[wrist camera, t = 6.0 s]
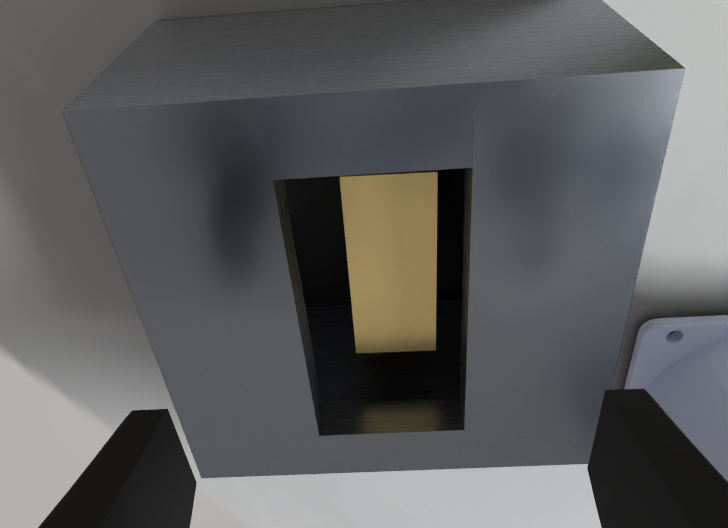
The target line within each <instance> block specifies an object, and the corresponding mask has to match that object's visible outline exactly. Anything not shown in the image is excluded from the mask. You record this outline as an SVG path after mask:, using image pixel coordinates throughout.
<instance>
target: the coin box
mask: <svg viewBox="0 0 728 528" xmlns="http://www.w3.org/2000/svg"><path fill="white" fill-rule="evenodd" d="M684 71H685V68H684V67H683V66H682V65H681V64H679V63H678V62H677V61H676V60H674V59H673V58H672V57H671V56H670V55H668V54H667V53H666V52H665V51H663V50H662V49H661V48H660V47H658V46H657V45H656V44H655V43H654V42H652V41H651V40H650V39H649V38H647V37H646V36H645V35H644V34H642V33H641V32H640V31H639V30H638V29H636V28H635V27H634V26H633V25H631V24H630V23H629V22H628V21H626V20H625V19H624V18H623V17H622V16H620V15H619V14H618V13H617V12H615V11H614V10H613V9H612V8H610V7H609V6H608V5H607V4H606V3H604V2H603V1H602V0H420V1H407V2H394V3H381V4H368V5H355V6H342V7H329V8H316V9H303V10H290V11H277V12H264V13H251V14H237V15H224V16H211V17H198V18H185V19H172V20H159V21H155V22H154V23H153V24H152V25H151V26H150V27H149V28H148V29H147V30H146V31H145V32H144V33H143V34H142V35H141V36H140V37H139V38H138V39H137V40H136V41H135V42H134V43H133V44H132V45H131V46H130V47H128V48H127V49H126V50H125V51H124V52H123V53H122V54H121V55H120V56H119V57H118V58H117V59H116V60H115V61H114V62H113V63H112V64H111V65H110V66H109V67H108V68H107V69H106V70H105V71H104V72H103V73H101V74H100V75H99V76H98V77H97V78H96V79H95V80H94V81H93V82H92V83H91V84H90V85H89V86H88V87H87V88H86V89H85V90H84V91H83V92H82V93H81V94H80V95H79V96H78V97H77V98H76V99H75V100H73V101H72V102H71V103H70V104H69V105H68V106H67V107H66V108H65V109H64V110H63V111H62V113H63V115H64V118H65V121H66V123H67V126H68V128H69V131H70V134H71V136H72V139H73V142H74V144H75V147H76V149H77V152H78V155H79V157H80V160H81V163H82V165H83V168H84V170H85V173H86V176H87V178H88V181H89V184H90V186H91V189H92V191H93V194H94V197H95V199H96V202H97V205H98V207H99V210H100V213H101V215H102V218H103V220H104V223H105V226H106V228H107V231H108V234H109V236H110V239H111V241H112V244H113V247H114V249H115V252H116V255H117V257H118V260H119V262H120V265H121V268H122V270H123V273H124V276H125V278H126V281H127V283H128V286H129V289H130V291H131V294H132V297H133V299H134V302H135V305H136V307H137V310H138V312H139V315H140V318H141V320H142V323H143V326H144V328H145V331H146V333H147V336H148V339H149V341H150V344H151V347H152V349H153V352H154V354H155V357H156V360H157V362H158V365H159V368H160V370H161V373H162V375H163V378H164V381H165V383H166V386H167V389H168V391H169V394H170V397H171V399H172V402H173V404H174V407H175V410H176V412H177V415H178V418H179V420H180V423H181V425H182V428H183V431H184V433H185V436H186V439H187V441H188V444H189V446H190V449H191V452H192V454H193V457H194V460H195V462H196V465H197V467H198V470H199V473H200V475H201V478H217V477H244V476H271V475H298V474H325V473H352V472H378V471H405V470H432V469H459V468H486V467H513V466H540V465H567V464H589V460H590V455H591V451H592V446H593V442H594V437H595V433H596V429H597V424H598V420H599V415H600V411H601V406H602V402H603V397H604V393H605V390H611V385H612V381H613V377H614V373H615V368H616V364H617V360H618V355H619V351H620V347H621V342H622V338H623V334H624V330H625V325H626V321H627V317H628V312H629V308H630V304H631V299H632V295H633V291H634V287H635V282H636V278H637V274H638V269H639V265H640V261H641V256H642V252H643V248H644V243H645V239H646V235H647V231H648V226H649V222H650V218H651V213H652V209H653V205H654V200H655V196H656V192H657V188H658V183H659V179H660V175H661V170H662V166H663V162H664V157H665V153H666V149H667V145H668V140H669V136H670V132H671V127H672V123H673V119H674V114H675V110H676V106H677V102H678V97H679V93H680V89H681V84H682V80H683V76H684ZM459 168H465V190H464V233H463V275H462V299H452V300H436V350H432V351H405V352H379V353H356V346H355V335H354V325H353V314H352V305H335V306H316V307H305V302H304V296H303V290H302V285H301V279H300V273H299V267H298V261H297V255H296V249H295V244H294V238H293V232H292V226H291V220H290V214H289V208H288V203H287V197H286V191H285V185H284V179H299V178H315V177H331V176H347V175H363V174H379V173H395V172H411V171H427V170H443V169H459Z"/></svg>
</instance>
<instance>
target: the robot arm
mask: <svg viewBox="0 0 728 528" xmlns="http://www.w3.org/2000/svg"><path fill="white" fill-rule="evenodd" d="M676 330H677V331H676ZM672 331H676V332H674V333H672V334H669V333H670V332H672ZM588 472H589V477H590V481H591V485H592V490H593V494H594V498H595V503H596V507H597V511H598V515H599V519H600V522H601V526H602V528H728V315H717V316H696V317H676V318H657V319H652V320H649V321H647V322H645V323H644V324H643V325H642V326H641V327H640V329H639V331H638V335H637V339H636V343H635V347H634V351H633V355H632V359H631V363H630V367H629V371H628V375H627V379H626V383H625V387H624V389H621V390H605V393H604V397H603V402H602V406H601V411H600V415H599V420H598V424H597V429H596V433H595V437H594V442H593V446H592V451H591V455H590V460H589V464H588ZM195 489H196V480H195V478H194V475H193V473H192V470H191V467H190V465H189V462H188V460H187V457H186V455H185V452H184V450H183V447H182V444H181V442H180V439H179V437H178V434H177V432H176V429H175V427H174V424H173V421H172V419H171V416H170V414H169V411H168V409H158V410H135V411H131V413H130V414H129V415H128V416H127V417H126V418H125V420H124V421H123V422H122V423H121V425H120V426H119V427H118V428H117V430H116V431H115V432H114V434H113V435H112V436H111V437H110V439H109V440H108V441H107V443H106V444H105V445H104V446H103V448H102V449H101V451H100V452H99V453H98V454H97V455H96V457H95V458H94V460H93V461H92V462H91V463H90V465H89V466H88V467H87V468H86V469H85V471H84V472H83V473H82V474H81V476H80V477H79V478H78V480H77V481H76V482H75V483H74V485H73V486H72V487H71V488H70V490H69V491H68V492H67V493H66V494H65V496H64V497H63V498H62V499H61V501H60V502H59V503H58V504H57V505H56V507H55V508H54V509H53V510H52V512H51V513H50V514H49V515H48V516H47V518H46V519H45V520H44V522H43V523H42V524H41V525H40V526H39V527H38V528H189V527H190V521H191V516H192V509H193V502H194V496H195Z"/></svg>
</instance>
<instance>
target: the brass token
mask: <svg viewBox="0 0 728 528" xmlns="http://www.w3.org/2000/svg"><path fill="white" fill-rule="evenodd" d="M339 177H340V188H341V199H342V209H343V220H344V230H345V241H346V251H347V262H348V272H349V283H350V293H351V304H352V314H353V325H354V335H355V346H356V353H379V352H405V351H432V350H436V286H437V188H438V171H437V170H427V171H411V172H395V173H379V174H363V175H347V176H339Z"/></svg>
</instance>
